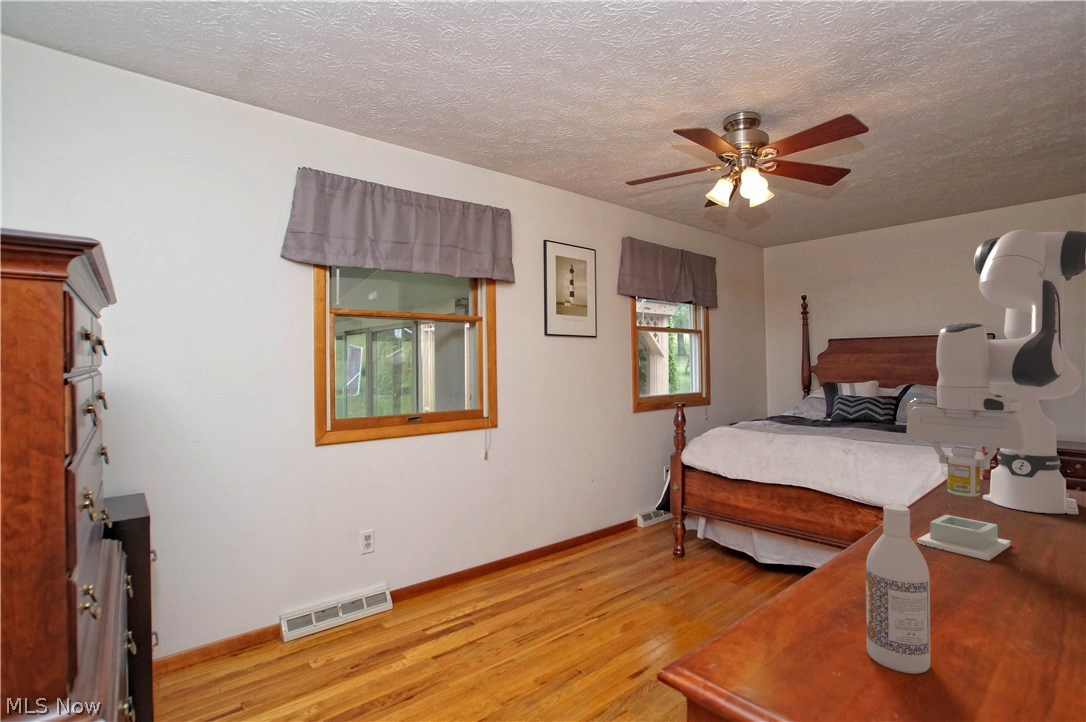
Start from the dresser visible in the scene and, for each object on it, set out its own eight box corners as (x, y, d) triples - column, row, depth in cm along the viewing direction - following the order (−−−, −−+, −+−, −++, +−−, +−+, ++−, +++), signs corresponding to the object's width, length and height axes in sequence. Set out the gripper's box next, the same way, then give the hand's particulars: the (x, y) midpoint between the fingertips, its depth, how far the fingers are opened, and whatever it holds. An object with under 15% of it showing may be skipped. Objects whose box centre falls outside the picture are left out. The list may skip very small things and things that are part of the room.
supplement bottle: (967, 490, 114) (968, 445, 114) (986, 497, 108) (987, 450, 108) (941, 489, 114) (941, 445, 114) (959, 496, 109) (959, 449, 109)
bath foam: (871, 640, 74) (870, 498, 74) (932, 657, 70) (931, 506, 70) (862, 662, 69) (860, 508, 69) (928, 682, 64) (926, 518, 64)
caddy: (942, 530, 120) (942, 511, 120) (1010, 545, 111) (1010, 524, 111) (917, 543, 112) (917, 522, 112) (988, 560, 102) (988, 537, 102)
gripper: (900, 398, 118) (901, 460, 118) (1021, 403, 101) (1022, 475, 101) (912, 397, 122) (913, 457, 122) (1030, 402, 105) (1031, 471, 105)
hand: (963, 465), depth 111 cm, fingers closed on supplement bottle, 5 cm apart
